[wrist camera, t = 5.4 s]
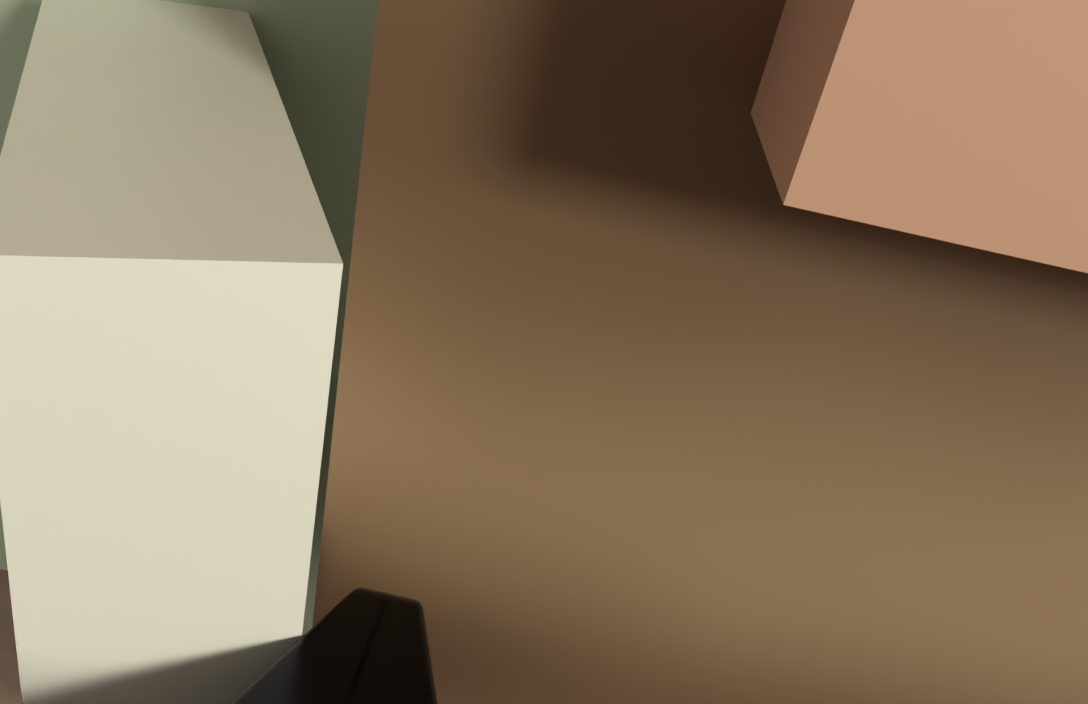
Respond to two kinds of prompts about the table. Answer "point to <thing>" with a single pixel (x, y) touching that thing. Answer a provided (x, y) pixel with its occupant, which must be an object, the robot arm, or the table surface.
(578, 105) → the deck
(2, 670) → the table surface
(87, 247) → the ivory block
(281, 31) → the mat
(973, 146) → the salmon pink brick
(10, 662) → the table surface
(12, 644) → the table surface
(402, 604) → the robot arm
